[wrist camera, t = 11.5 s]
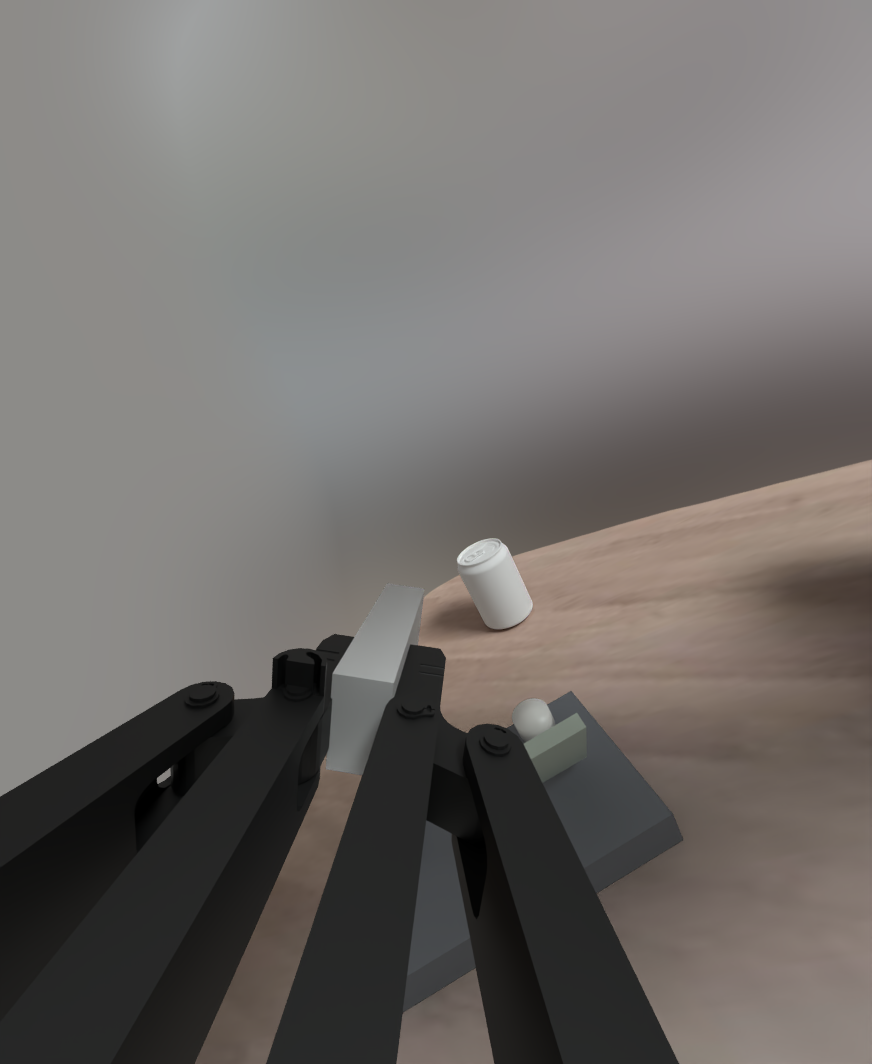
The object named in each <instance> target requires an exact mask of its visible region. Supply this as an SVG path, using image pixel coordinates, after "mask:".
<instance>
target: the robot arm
mask: <svg viewBox="0 0 872 1064" xmlns="http://www.w3.org/2000/svg"><path fill="white" fill-rule="evenodd" d="M423 598H424V588H416V587H410V586H402V585H396V584H389V583H387V585H386V586H385V588H384V590H383V591H382V593H381V594H380V596H379V598H378V599H377V601H376V603H375V604H374V606H373V608H372V609H371V611H370V613H369V614H368V616H367V618H366V619H365V621H364V622H363V624H362V626H361V628H360V629H359V631H358V633H357V634H356V636H355V637H350V636H344V635H337V634H334V635H332V636H330V637H328V638H326V639H325V640H323V641H322V642H321V643H320V645H319V646H318V647H317V649H316V650H312V649H302V648H298V649H292V650H287V651H285V652H282V653H279V654H278V655H277V656H275V657H274V658H273V669H272V670H273V672H272V689H271V690H270V691H269V692H268V694H267V695H266V696H265V697H263V698H255V699H238V700H234V691H233V689H232V687H231V686H229V685H227V684H226V683H221V682H216V681H215V682H202V683H198V684H194V685H190V686H188V687H186V688H184V689H182V690H180V691H178V692H176V693H175V694H173V695H171V696H170V697H168V698H166V699H165V700H163V701H161V702H159V703H158V704H156V705H154V706H153V707H151V708H149V709H148V710H146V711H145V712H143V713H141V714H139V715H137V716H136V717H134V718H132V719H131V720H129V721H127V722H126V723H124V724H122V725H121V726H119V727H118V728H116V729H114V730H112V731H110V732H109V733H107V734H105V735H104V736H102V737H100V738H99V739H97V740H95V741H94V742H92V743H90V744H89V745H87V746H85V747H84V748H82V749H80V750H78V751H77V752H75V753H74V754H72V755H70V756H68V757H67V758H65V759H63V760H62V761H60V762H58V763H57V764H55V765H53V766H51V767H50V768H48V769H46V770H45V771H43V772H41V773H40V774H38V775H36V776H35V777H33V778H31V779H29V780H28V781H26V782H24V783H23V784H21V785H19V786H18V787H16V788H14V789H13V790H11V791H9V792H7V793H6V794H4V795H2V796H1V797H0V1064H195V1061H196V1059H197V1057H198V1055H199V1052H200V1050H201V1048H202V1046H203V1043H204V1041H205V1039H206V1037H207V1034H208V1032H209V1030H210V1028H211V1025H212V1023H213V1021H214V1019H215V1017H216V1014H217V1012H218V1010H219V1008H220V1005H221V1003H222V1001H223V999H224V996H225V994H226V992H227V990H228V987H229V985H230V983H231V981H232V978H233V976H234V974H235V972H236V969H237V967H238V965H239V963H240V960H241V958H242V956H243V954H244V951H245V949H246V947H247V945H248V942H249V940H250V938H251V936H252V933H253V931H254V929H255V927H256V924H257V922H258V920H259V918H260V915H261V913H262V911H263V909H264V907H265V904H266V902H267V900H268V898H269V895H270V893H271V891H272V889H273V886H274V884H275V882H276V880H277V877H278V875H279V873H280V871H281V868H282V866H283V864H284V862H285V859H286V857H287V855H288V853H289V850H290V848H291V846H292V844H293V841H294V839H295V837H296V835H297V832H298V830H299V828H300V826H301V823H302V821H303V819H304V817H305V814H306V812H307V810H308V808H309V806H310V803H311V801H312V799H313V797H314V794H315V792H316V790H317V788H318V784H319V779H320V766H321V764H322V762H323V760H324V758H325V756H326V753H327V759H326V769H328V770H334V771H340V772H346V773H352V774H357V775H362V778H361V781H360V784H359V787H358V790H357V793H356V796H355V799H354V802H353V805H352V808H351V811H350V814H349V817H348V820H347V823H346V826H345V829H344V832H343V835H342V838H341V841H340V844H339V847H338V850H337V853H336V856H335V859H334V862H333V865H332V868H331V871H330V874H329V877H328V880H327V883H326V886H325V889H324V892H323V895H322V898H321V901H320V904H319V907H318V910H317V913H316V916H315V919H314V922H313V925H312V928H311V931H310V934H309V937H308V940H307V943H306V946H305V949H304V952H303V955H302V958H301V961H300V964H299V967H298V970H297V973H296V976H295V979H294V982H293V985H292V988H291V991H290V994H289V997H288V1000H287V1003H286V1006H285V1009H284V1012H283V1015H282V1018H281V1021H280V1024H279V1027H278V1030H277V1033H276V1036H275V1039H274V1042H273V1045H272V1048H271V1051H270V1054H269V1057H268V1060H267V1063H266V1064H396V1061H397V1053H398V1045H399V1037H400V1029H401V1021H402V1013H403V1005H404V997H405V988H406V980H407V972H408V964H409V956H410V948H411V940H412V932H413V924H414V916H415V908H416V899H417V891H418V883H419V875H420V867H421V859H422V851H423V843H424V835H425V827H426V820H427V821H429V822H431V823H432V824H434V825H436V826H438V827H440V828H442V829H444V830H446V831H448V832H450V833H451V842H452V847H453V852H454V857H455V862H456V868H457V873H458V878H459V883H460V888H461V893H462V898H463V904H464V909H465V914H466V919H467V924H468V929H469V935H470V940H471V945H472V950H473V955H474V960H475V965H476V971H477V976H478V981H479V986H480V991H481V996H482V1001H483V1007H484V1012H485V1017H486V1022H487V1027H488V1032H489V1038H490V1043H491V1048H492V1053H493V1058H494V1063H495V1064H679V1063H678V1061H677V1059H676V1057H675V1055H674V1052H673V1050H672V1048H671V1046H670V1044H669V1042H668V1040H667V1038H666V1036H665V1034H664V1032H663V1030H662V1028H661V1026H660V1024H659V1022H658V1020H657V1017H656V1015H655V1013H654V1011H653V1009H652V1007H651V1005H650V1003H649V1001H648V999H647V997H646V995H645V993H644V991H643V989H642V987H641V985H640V983H639V980H638V978H637V976H636V974H635V972H634V970H633V968H632V966H631V964H630V962H629V960H628V958H627V956H626V954H625V952H624V950H623V948H622V946H621V943H620V941H619V939H618V937H617V935H616V933H615V931H614V929H613V927H612V925H611V923H610V921H609V919H608V917H607V915H606V913H605V911H604V908H603V906H602V904H601V902H600V900H599V898H598V896H597V894H596V892H595V890H594V888H593V886H592V884H591V882H590V880H589V878H588V876H587V874H586V871H585V869H584V867H583V865H582V863H581V861H580V859H579V857H578V855H577V853H576V851H575V849H574V847H573V845H572V843H571V841H570V839H569V837H568V834H567V832H566V830H565V828H564V826H563V824H562V822H561V820H560V818H559V816H558V814H557V812H556V810H555V808H554V806H553V804H552V802H551V799H550V797H549V795H548V793H547V791H546V789H545V787H544V785H543V783H542V781H541V779H540V777H539V775H538V773H537V771H536V769H535V767H534V765H533V762H532V760H531V758H530V756H529V754H528V752H527V750H526V748H525V746H524V744H523V743H522V741H521V740H520V739H519V737H518V736H517V735H516V734H514V733H513V732H512V731H510V730H509V729H506V728H504V727H501V726H499V725H493V724H482V725H477V726H475V727H474V728H472V729H470V731H469V732H468V733H465V732H463V731H461V730H459V729H457V728H455V727H453V726H452V725H450V724H449V723H448V722H447V721H446V720H445V719H444V718H443V716H442V714H441V711H440V702H441V694H442V686H443V677H444V669H445V661H446V657H445V656H444V654H443V652H442V651H441V649H438V648H431V647H425V646H418V640H419V631H420V623H421V614H422V606H423ZM170 767H171V776H170V777H168V778H167V779H166V780H165V781H163V782H161V783H159V784H157V777H159V776H160V775H161V774H163V773H164V772H165V771H167V770H168V769H169V768H170Z"/></svg>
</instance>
